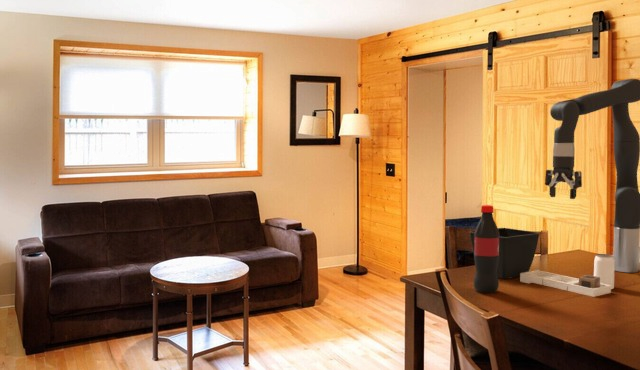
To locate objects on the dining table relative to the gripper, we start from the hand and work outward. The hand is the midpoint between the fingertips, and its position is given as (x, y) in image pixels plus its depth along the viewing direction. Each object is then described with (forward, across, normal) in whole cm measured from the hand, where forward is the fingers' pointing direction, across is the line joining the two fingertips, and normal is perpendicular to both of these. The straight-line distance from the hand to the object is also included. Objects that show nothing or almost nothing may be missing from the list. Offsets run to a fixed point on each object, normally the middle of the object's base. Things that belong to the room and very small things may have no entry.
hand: (562, 197), depth 233 cm
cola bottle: (+30, 0, -41) cm, 51 cm away
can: (+30, +21, -5) cm, 37 cm away
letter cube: (+29, +22, -15) cm, 40 cm away
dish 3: (+30, +22, -15) cm, 40 cm away
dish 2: (+30, +12, -15) cm, 36 cm away
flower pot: (+30, -14, -16) cm, 37 cm away
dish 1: (+30, +2, -15) cm, 34 cm away
